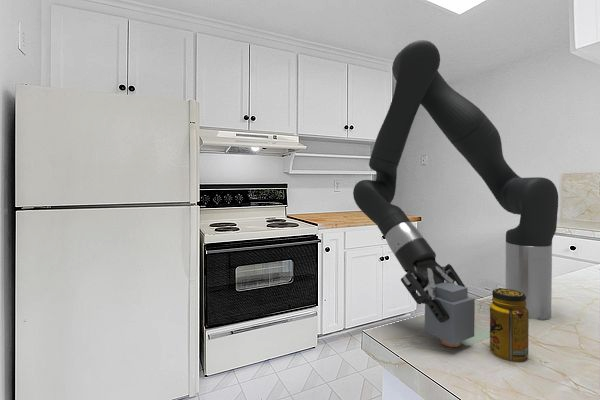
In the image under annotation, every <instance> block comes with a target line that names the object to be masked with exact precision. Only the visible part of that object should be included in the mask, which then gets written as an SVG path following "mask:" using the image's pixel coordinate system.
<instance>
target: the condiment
mask: <svg viewBox="0 0 600 400" xmlns="http://www.w3.org/2000/svg"><path fill="white" fill-rule="evenodd" d="M491 294H492V295H491V296H492V298H491V301H492V302H491V303H490V304H489V331H490V338H489V348H490V353H492V355H494V356H495V357H497V358H498V359H501V360H505V361H506V362H513V363H524V362H527V360H529V328H530V327H529V320H530V318H529V312H528V310H527V308H526V296H525V294H524V293H522V292H520V291H517V290H513V289H506V287H504V288H503V287H502V288H494V289H493V290H492V293H491ZM539 362H540V363H542V361H541V360H539ZM543 363H545V364H546V363H547V364H550V363H551V364H552V362H547V361H544V362H543ZM532 364H534V362H533V363H532Z"/></svg>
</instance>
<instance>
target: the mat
mask: <svg viewBox="0 0 600 400" xmlns="http://www.w3.org/2000/svg"><path fill="white" fill-rule="evenodd" d="M488 339H490V330H488V329H484V327H483V328H482V327H481V326H477V325H475V324H474V337H471V338H469V339H466V340H464V341H461V342H460V345H462V346H465V347H469V346H472V345H474V344H478V343H479V342H482V341H485V340H488Z"/></svg>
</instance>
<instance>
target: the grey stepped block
mask: <svg viewBox="0 0 600 400" xmlns="http://www.w3.org/2000/svg"><path fill="white" fill-rule="evenodd" d="M435 287H436V288H435V294H436V298H437V299H436V300H439V302H440V303H441V305H442V306H443V308H444V309H445V311H446V312H447V314H448V315H449V319H448V320H446V321H445V322H443V323H440V322H439V320H437V319H436V317H435V316H434V314H433V313H432V311H431V310H430V308H429V306H427V305H425V304H424V332H426V333H428V334H430V335H432V336H434V337H436V338H438V339H442V340H445V341H447V342H449V343H451V344H453V345H454V344H456V343H459V342H461V341H464V340H466V339H469V338H471V337H474V325H475V321H476V320H475V316H476V315H475V310H476V309H475V308H476V307H475V306H476V305H475V304H476V302H475V301H476V299H475V298H473V297H472V296H468V293H469V291H468V290H469V289H468V287H466V286H465V287H463V286H459V285H458V284H457V283H456V284H455V283H454V284H452V283H449V282H446V281H444V283H440V284H436V285H435Z"/></svg>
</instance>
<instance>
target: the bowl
mask: <svg viewBox="0 0 600 400" xmlns="http://www.w3.org/2000/svg"><path fill="white" fill-rule="evenodd" d="M439 339H440V338H439ZM439 341H440V343H441V344H443V346H446V347H449V348H458V347H460V346H461V344H460V342H459V343H456V344H454V345H453V344H451V343H449V342H447V341H445V340H442V339H440V340H439Z"/></svg>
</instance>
